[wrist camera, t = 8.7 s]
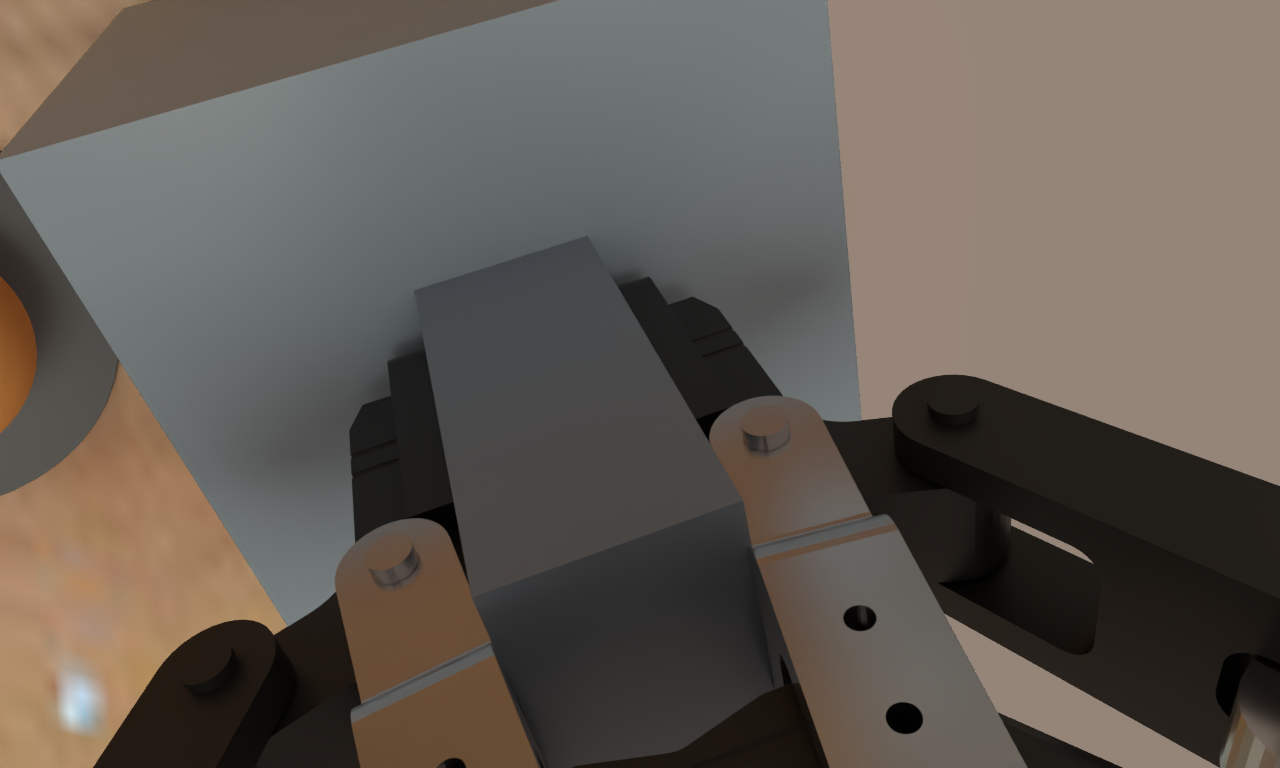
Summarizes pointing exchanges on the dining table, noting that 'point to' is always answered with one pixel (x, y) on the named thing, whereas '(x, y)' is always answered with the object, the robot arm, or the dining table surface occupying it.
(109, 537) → the dining table surface
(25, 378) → the ball
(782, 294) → the grey block with handle
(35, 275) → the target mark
